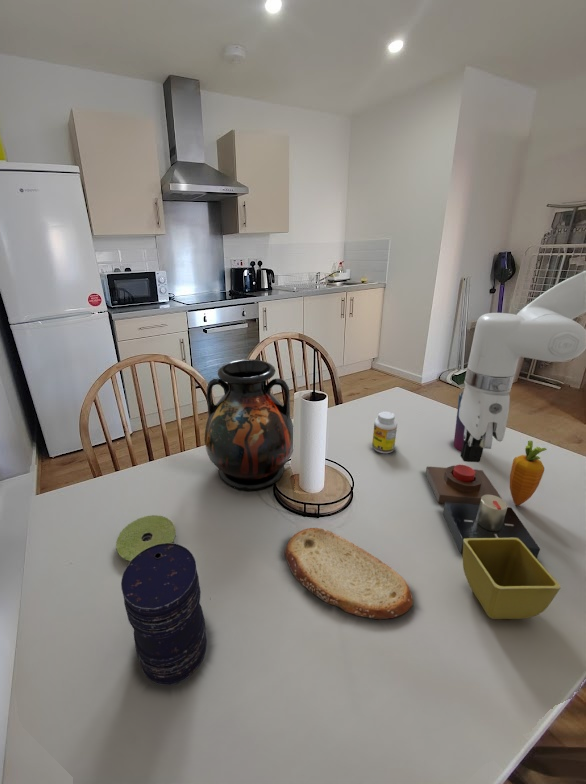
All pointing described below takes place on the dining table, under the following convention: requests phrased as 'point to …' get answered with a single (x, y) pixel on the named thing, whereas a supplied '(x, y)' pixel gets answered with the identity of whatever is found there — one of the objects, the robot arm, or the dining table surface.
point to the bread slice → (347, 575)
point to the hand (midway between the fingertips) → (469, 459)
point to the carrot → (526, 474)
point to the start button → (464, 473)
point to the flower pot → (507, 578)
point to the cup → (459, 428)
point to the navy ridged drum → (165, 612)
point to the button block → (458, 486)
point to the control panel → (466, 526)
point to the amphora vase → (249, 426)
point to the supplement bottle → (384, 432)
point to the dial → (491, 512)
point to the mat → (144, 535)
